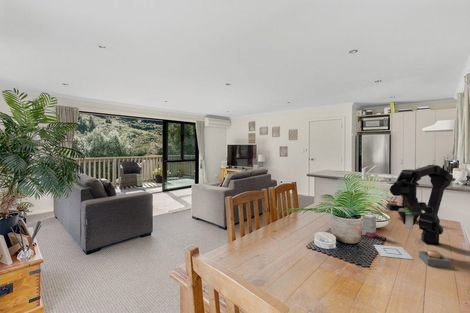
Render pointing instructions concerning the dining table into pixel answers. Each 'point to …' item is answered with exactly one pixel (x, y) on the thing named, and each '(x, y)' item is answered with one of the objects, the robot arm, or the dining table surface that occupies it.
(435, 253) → the button
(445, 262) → the button housing
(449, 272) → the dining table surface
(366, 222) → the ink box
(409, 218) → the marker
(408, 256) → the paper sheet
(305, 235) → the dining table surface
